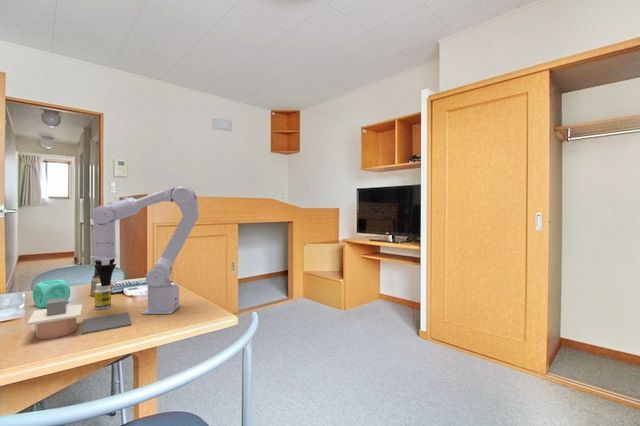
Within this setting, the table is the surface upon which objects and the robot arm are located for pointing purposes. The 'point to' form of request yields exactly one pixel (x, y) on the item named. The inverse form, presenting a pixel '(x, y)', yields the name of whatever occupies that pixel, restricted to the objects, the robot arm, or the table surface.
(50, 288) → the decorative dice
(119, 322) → the mat
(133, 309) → the table surface
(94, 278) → the figurine
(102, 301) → the supplement bottle
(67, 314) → the lid
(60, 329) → the bowl
